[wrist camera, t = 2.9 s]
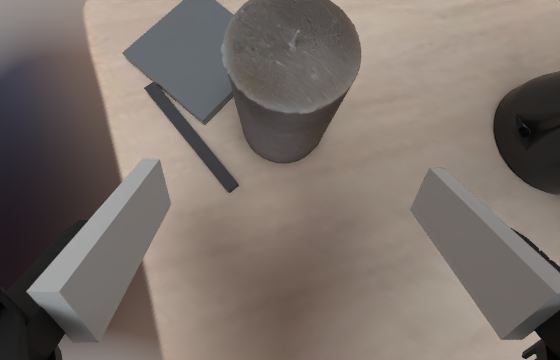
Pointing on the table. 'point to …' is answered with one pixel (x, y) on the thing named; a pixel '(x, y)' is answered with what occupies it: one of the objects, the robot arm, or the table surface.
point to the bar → (191, 137)
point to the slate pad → (187, 56)
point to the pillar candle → (289, 72)
